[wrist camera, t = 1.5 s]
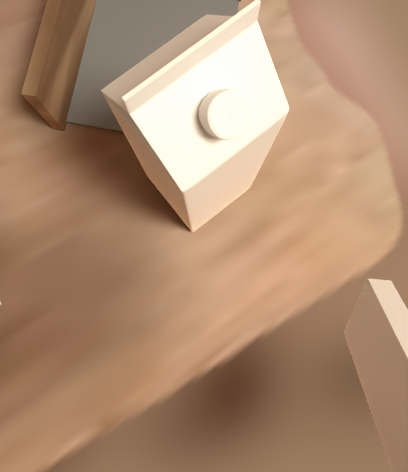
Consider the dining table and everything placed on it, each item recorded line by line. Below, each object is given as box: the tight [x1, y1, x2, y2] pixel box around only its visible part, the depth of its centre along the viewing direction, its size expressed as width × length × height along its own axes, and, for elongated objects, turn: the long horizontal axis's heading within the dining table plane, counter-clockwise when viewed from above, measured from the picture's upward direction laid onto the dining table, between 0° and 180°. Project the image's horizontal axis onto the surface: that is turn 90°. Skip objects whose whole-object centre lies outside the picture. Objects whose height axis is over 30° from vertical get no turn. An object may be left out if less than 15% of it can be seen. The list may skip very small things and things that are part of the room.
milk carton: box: [101, 0, 289, 232], centre depth 23 cm, size 7×7×19 cm
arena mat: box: [66, 0, 239, 132], centre depth 35 cm, size 15×16×1 cm
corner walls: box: [21, 0, 241, 131], centre depth 32 cm, size 16×19×6 cm
